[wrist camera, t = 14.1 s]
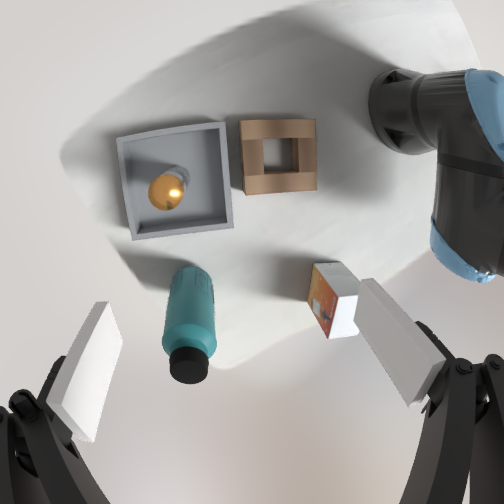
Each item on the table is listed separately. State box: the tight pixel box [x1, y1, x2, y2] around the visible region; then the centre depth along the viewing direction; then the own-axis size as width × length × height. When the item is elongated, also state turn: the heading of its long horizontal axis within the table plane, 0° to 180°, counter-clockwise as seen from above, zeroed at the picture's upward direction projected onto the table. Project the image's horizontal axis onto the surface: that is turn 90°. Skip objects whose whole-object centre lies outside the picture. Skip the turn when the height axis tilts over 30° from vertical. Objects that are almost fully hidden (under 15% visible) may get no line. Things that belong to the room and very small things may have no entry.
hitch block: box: [238, 119, 317, 196], centre depth 36 cm, size 10×10×3 cm
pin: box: [148, 166, 190, 211], centre depth 31 cm, size 4×4×10 cm
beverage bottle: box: [162, 267, 217, 384], centre depth 34 cm, size 6×7×20 cm
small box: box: [307, 262, 361, 339], centre depth 42 cm, size 8×6×10 cm
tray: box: [116, 121, 234, 241], centre depth 35 cm, size 14×14×4 cm
